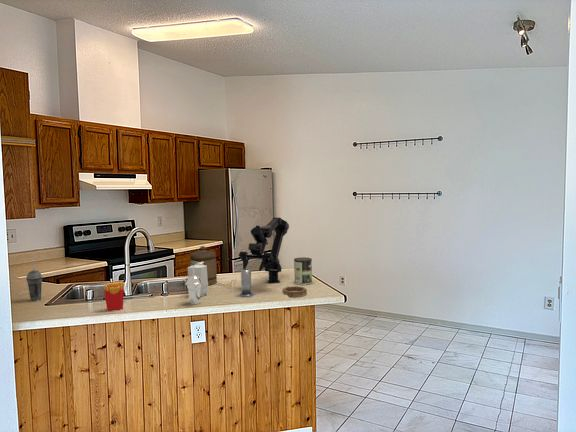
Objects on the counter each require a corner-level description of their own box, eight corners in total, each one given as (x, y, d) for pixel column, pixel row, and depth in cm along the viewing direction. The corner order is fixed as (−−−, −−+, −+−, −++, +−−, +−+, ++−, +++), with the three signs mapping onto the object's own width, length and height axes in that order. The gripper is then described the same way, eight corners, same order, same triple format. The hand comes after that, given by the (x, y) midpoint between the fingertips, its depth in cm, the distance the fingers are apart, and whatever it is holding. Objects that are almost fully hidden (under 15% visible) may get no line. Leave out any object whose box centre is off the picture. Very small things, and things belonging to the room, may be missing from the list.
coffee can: (313, 281, 258) (312, 257, 257) (310, 285, 248) (310, 260, 247) (296, 280, 260) (295, 257, 259) (292, 284, 250) (292, 260, 249)
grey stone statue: (187, 301, 219) (185, 261, 218) (205, 300, 220) (204, 261, 218) (184, 305, 211) (183, 265, 209) (203, 305, 212) (202, 264, 210)
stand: (242, 293, 231) (242, 292, 231) (258, 295, 228) (258, 293, 228) (234, 298, 223) (234, 296, 223) (250, 299, 219) (250, 297, 219)
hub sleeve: (239, 293, 228) (238, 269, 227) (252, 292, 229) (251, 268, 228) (240, 297, 221) (240, 271, 220) (254, 296, 223) (253, 271, 222)
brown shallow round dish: (279, 291, 234) (279, 287, 234) (303, 290, 237) (303, 285, 237) (285, 298, 221) (285, 293, 221) (309, 296, 224) (309, 291, 224)
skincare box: (208, 294, 232) (207, 265, 230) (201, 297, 226) (200, 267, 224) (195, 292, 235) (194, 264, 234) (188, 295, 229) (187, 266, 228)
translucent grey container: (186, 283, 256) (184, 246, 254) (206, 279, 267) (204, 243, 265) (202, 287, 246) (200, 249, 244) (222, 282, 257) (221, 245, 256)
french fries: (105, 311, 204) (103, 284, 202) (105, 309, 208) (104, 282, 206) (126, 309, 207) (124, 282, 205) (126, 306, 211) (124, 280, 209)
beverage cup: (27, 303, 220) (24, 263, 219) (28, 299, 227) (25, 261, 225) (43, 300, 224) (41, 262, 222) (44, 297, 230) (41, 260, 229)
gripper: (239, 236, 237) (230, 260, 228) (271, 237, 230) (263, 262, 221) (246, 249, 245) (237, 272, 236) (277, 250, 238) (269, 274, 229)
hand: (251, 270), depth 230 cm, fingers open, 9 cm apart
